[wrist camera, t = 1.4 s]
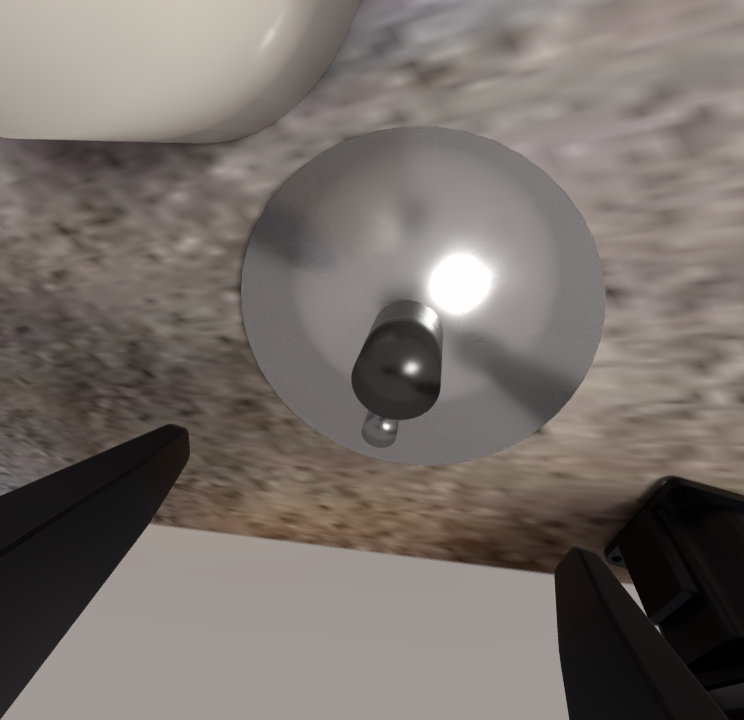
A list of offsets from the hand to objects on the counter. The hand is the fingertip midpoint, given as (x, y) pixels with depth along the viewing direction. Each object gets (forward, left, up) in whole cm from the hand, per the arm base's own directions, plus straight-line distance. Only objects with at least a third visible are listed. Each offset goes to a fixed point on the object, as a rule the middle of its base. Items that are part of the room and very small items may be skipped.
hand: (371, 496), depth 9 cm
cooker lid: (0, 0, -10) cm, 10 cm away
